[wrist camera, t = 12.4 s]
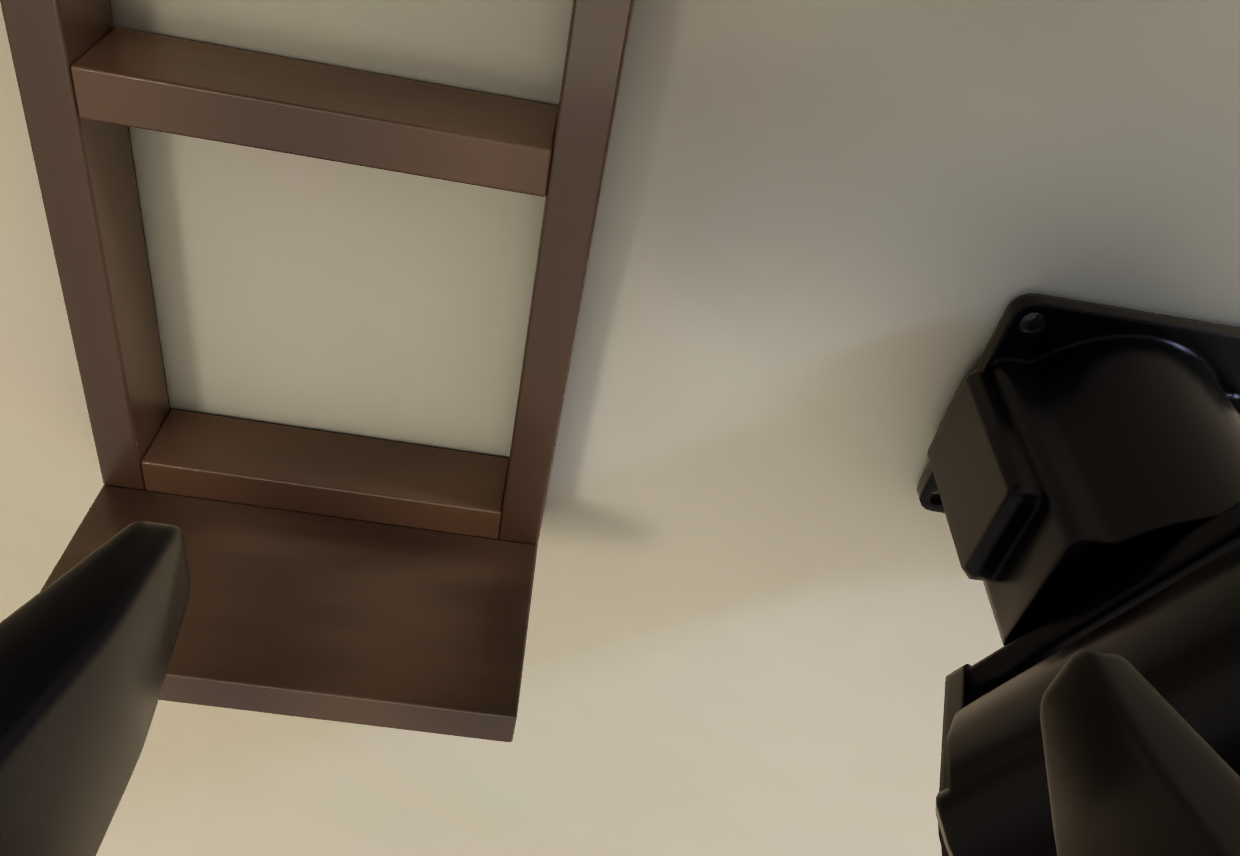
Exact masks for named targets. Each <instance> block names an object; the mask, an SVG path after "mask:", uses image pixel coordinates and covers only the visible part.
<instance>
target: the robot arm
mask: <svg viewBox="0 0 1240 856" xmlns="http://www.w3.org/2000/svg"><path fill="white" fill-rule="evenodd" d="M1030 313H1038V315H1037V316H1036V317H1035V318H1034V319H1032V320H1030V321H1023V322H1022V321H1021V320H1022V319H1023V318H1024V317H1025V316H1026V315H1028V314H1030ZM928 458H929V463H928V465H927V467H926V469H925V471H924V473H923V475H922V477H921V479H920V481H919V483H918V486H917V492H918V496H919V499H920V502H921V505H922V506H923V507H924V508H925V509H928V510H931V511H936V512H942V513H945V514H946V517H947V521H948V524H949V527H950V530H951V534H952V537H953V540H954V544H955V547H956V550H957V554H958V557H959V560H960V564H961V567H962V569H963V570H964V572H965V573H966V575H967V576H968V578H969V579H975V580H982V581H983V582H984V585H985V588H986V592H987V595H988V598H989V601H990V604H991V607H992V610H993V614H994V617H995V620H996V623H997V626H998V629H999V632H1000V635H1001V639H1002V642H1003V645H1004V647H1002V648H1000V649H999V650H997V651H995V652H994V653H992V654H990V655H989V656H987V657H986V658H984V659H982V660H981V661H979V662H977V663H976V664H974V665H973V666H971V665H969V664H966V665H964V666H962V667H961V668H959V669H957V670H956V671H954V672H952V673H951V674H949V675H948V676H946V682H945V700H944V717H943V735H942V753H941V770H940V788H939V793H938V795H937V797H936V816H937V819H938V826H939V838H940V842H941V847H942V856H1240V328H1238V327H1232V326H1226V325H1221V324H1215V323H1209V322H1203V321H1197V320H1191V319H1185V318H1179V317H1173V316H1167V315H1161V314H1155V313H1149V312H1144V311H1138V310H1132V309H1126V308H1120V307H1114V306H1108V305H1102V304H1096V303H1090V302H1084V301H1078V300H1073V299H1067V298H1061V297H1055V296H1049V295H1043V294H1025V295H1022V296H1019V297H1018V298H1016V299H1015V300H1013V301H1012V302H1011V303H1010V304H1009V305H1008V307H1007V308H1006V310H1005V312H1004V314H1003V316H1002V318H1001V320H1000V322H999V324H998V326H997V328H996V330H995V332H994V334H993V336H992V338H991V340H990V342H989V344H988V346H987V348H986V350H985V352H984V354H983V356H982V358H981V360H980V362H979V364H978V366H977V368H976V369H975V371H972V372H971V373H970V374H969V375H967V376H966V377H965V378H964V379H963V381H962V383H961V385H960V387H959V389H958V391H957V393H956V395H955V397H954V399H953V401H952V403H951V405H950V407H949V409H948V411H947V414H946V416H945V418H944V420H943V422H942V424H941V426H940V428H939V430H938V432H937V434H936V436H935V438H934V440H933V442H932V444H931V446H930V448H929V450H928ZM936 491H939V493H938V494H932V493H933V492H936ZM190 586H191V582H190V575H189V568H188V561H187V555H186V548H185V542H184V536H183V533H182V531H181V530H180V528H179V527H177V526H174V525H170V524H162V523H155V522H148V521H137V522H134V523H132V524H130V525H128V526H127V527H125V528H124V529H123V530H121V531H120V532H119V533H117V534H116V535H115V536H114V537H112V538H111V539H110V540H108V541H107V542H106V543H104V544H103V545H102V546H100V547H99V548H98V549H96V550H95V551H94V552H93V553H91V554H90V555H89V556H87V557H86V558H85V559H83V560H82V561H81V562H79V563H78V564H77V565H75V566H74V567H73V568H72V569H70V570H69V571H68V572H66V573H65V574H64V575H62V576H61V577H60V578H58V579H57V580H56V581H54V582H53V583H52V584H51V585H49V586H48V587H47V588H45V589H44V590H43V591H41V592H40V593H39V594H37V595H36V596H35V597H34V598H32V599H31V600H30V601H28V602H27V603H26V604H24V605H23V606H22V607H20V608H19V609H18V610H16V611H15V612H14V613H13V614H11V615H10V616H9V617H7V618H6V619H5V620H3V621H2V622H1V623H0V856H96V854H97V852H98V849H99V847H100V845H101V843H102V840H103V838H104V836H105V834H106V831H107V829H108V827H109V825H110V822H111V820H112V818H113V816H114V813H115V811H116V809H117V807H118V804H119V802H120V800H121V798H122V795H123V793H124V791H125V789H126V786H127V784H128V782H129V780H130V778H131V775H132V773H133V771H134V768H135V766H136V763H137V761H138V758H139V756H140V754H141V751H142V749H143V746H144V743H145V740H146V737H147V734H148V731H149V728H150V725H151V721H152V718H153V715H154V712H155V708H156V705H157V702H158V699H159V696H160V692H161V689H162V686H163V683H164V680H165V676H166V673H167V670H168V667H169V663H170V660H171V657H172V654H173V651H174V647H175V644H176V641H177V638H178V635H179V631H180V628H181V625H182V622H183V619H184V615H185V612H186V609H187V605H188V601H189V596H190Z"/></svg>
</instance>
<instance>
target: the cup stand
mask: <svg viewBox="0 0 1240 856" xmlns="http://www.w3.org/2000/svg"><path fill="white" fill-rule="evenodd" d="M0 2H1V7H2V11H3V16H4V21H5V25H6V30H7V35H8V39H9V44H10V49H11V53H12V58H13V63H14V67H15V72H16V77H17V81H18V86H19V91H20V95H21V100H22V105H23V109H24V114H25V119H26V123H27V128H28V133H29V137H30V142H31V147H32V151H33V156H34V161H35V165H36V170H37V175H38V179H39V184H40V189H41V193H42V198H43V203H44V207H45V212H46V217H47V221H48V226H49V231H50V235H51V240H52V245H53V249H54V254H55V259H56V263H57V268H58V273H59V277H60V282H61V287H62V291H63V296H64V301H65V305H66V310H67V315H68V319H69V324H70V329H71V333H72V338H73V343H74V347H75V352H76V357H77V361H78V366H79V371H80V375H81V380H82V385H83V389H84V394H85V399H86V403H87V408H88V413H89V417H90V422H91V427H92V431H93V436H94V441H95V445H96V450H97V455H98V459H99V464H100V469H101V473H102V478H103V483H104V486H103V488H102V489H101V491H100V493H99V494H98V496H97V498H96V499H95V501H94V503H93V504H92V506H91V508H90V509H89V511H88V513H87V514H86V516H85V518H84V519H83V521H82V523H81V524H80V526H79V528H78V529H77V531H76V533H75V534H74V536H73V538H72V539H71V541H70V543H69V544H68V546H67V548H66V550H65V551H64V553H63V555H62V556H61V558H60V560H59V561H58V563H57V565H56V566H55V568H54V570H53V571H52V573H51V575H50V576H49V578H48V580H47V581H46V583H45V585H44V586H43V588H42V590H41V591H43V590H44V589H45V588H47V587H48V586H49V585H51V584H52V583H53V582H54V581H56V580H57V579H58V578H60V577H61V576H62V575H64V574H65V573H66V572H68V571H69V570H70V569H72V568H73V567H74V566H75V565H77V564H78V563H79V562H81V561H82V560H83V559H85V558H86V557H87V556H89V555H90V554H91V553H93V552H94V551H95V550H96V549H98V548H99V547H100V546H102V545H103V544H104V543H106V542H107V541H108V540H110V539H111V538H112V537H114V536H115V535H116V534H117V533H119V532H120V531H121V530H123V529H124V528H125V527H127V526H128V525H130V524H132V523H134V522H137V521H148V522H155V523H162V524H170V525H174V526H177V527H179V528H180V530H181V531H182V533H183V536H184V542H185V548H186V555H187V561H188V568H189V575H190V582H191V586H190V596H189V601H188V605H187V609H186V612H185V615H184V619H183V622H182V625H181V628H180V631H179V635H178V638H177V641H176V644H175V647H174V651H173V654H172V657H171V660H170V663H169V667H168V670H167V673H166V676H165V680H164V683H163V686H162V689H161V692H160V696H159V699H158V700H166V701H174V702H182V703H191V704H199V705H207V706H215V707H224V708H232V709H240V710H248V711H257V712H265V713H273V714H281V715H289V716H298V717H306V718H314V719H322V720H331V721H339V722H347V723H355V724H364V725H372V726H380V727H388V728H397V729H405V730H413V731H421V732H430V733H438V734H446V735H454V736H463V737H471V738H479V739H487V740H496V741H504V742H511V741H512V740H513V734H514V729H515V724H516V718H517V711H518V703H519V694H520V686H521V678H522V670H523V661H524V653H525V645H526V637H527V629H528V620H529V612H530V604H531V596H532V587H533V579H534V571H535V563H536V554H537V546H538V540H539V535H540V529H541V523H542V518H543V512H544V507H545V501H546V495H547V490H548V484H549V478H550V473H551V467H552V461H553V456H554V450H555V444H556V439H557V433H558V428H559V422H560V416H561V411H562V405H563V399H564V394H565V388H566V382H567V377H568V371H569V366H570V360H571V354H572V349H573V343H574V337H575V332H576V326H577V320H578V315H579V309H580V304H581V298H582V292H583V287H584V281H585V275H586V270H587V264H588V258H589V253H590V247H591V241H592V236H593V230H594V225H595V219H596V213H597V208H598V202H599V196H600V191H601V185H602V179H603V174H604V168H605V163H606V157H607V151H608V146H609V140H610V134H611V129H612V123H613V117H614V112H615V106H616V101H617V95H618V89H619V84H620V78H621V72H622V67H623V61H624V55H625V50H626V44H627V38H628V33H629V27H630V22H631V16H632V10H633V5H634V0H574V1H573V8H572V15H571V22H570V29H569V36H568V43H567V51H566V58H565V65H564V72H563V79H562V86H561V94H560V101H559V107H558V106H555V105H549V104H543V103H538V102H532V101H527V100H521V99H515V98H510V97H504V96H499V95H493V94H487V93H482V92H476V91H471V90H465V89H459V88H454V87H448V86H442V85H437V84H431V83H426V82H420V81H414V80H409V79H403V78H398V77H392V76H386V75H381V74H375V73H370V72H364V71H358V70H353V69H347V68H342V67H336V66H330V65H325V64H319V63H314V62H308V61H302V60H297V59H291V58H286V57H280V56H274V55H269V54H263V53H258V52H252V51H246V50H241V49H235V48H229V47H224V46H218V45H213V44H207V43H201V42H196V41H190V40H185V39H179V38H173V37H168V36H162V35H157V34H151V33H145V32H140V31H134V30H129V29H123V28H117V27H116V28H114V29H113V23H112V16H111V9H110V2H109V0H0ZM128 126H131V127H137V128H143V129H149V130H155V131H161V132H166V133H172V134H178V135H184V136H190V137H196V138H202V139H208V140H213V141H219V142H225V143H231V144H237V145H243V146H249V147H255V148H261V149H266V150H272V151H278V152H284V153H290V154H296V155H302V156H308V157H313V158H319V159H325V160H331V161H337V162H343V163H349V164H355V165H360V166H366V167H372V168H378V169H384V170H390V171H396V172H402V173H407V174H413V175H419V176H425V177H431V178H437V179H443V180H449V181H454V182H460V183H466V184H472V185H478V186H484V187H490V188H496V189H501V190H507V191H513V192H519V193H525V194H531V195H537V196H543V197H544V196H546V201H545V208H544V215H543V222H542V229H541V237H540V244H539V251H538V258H537V265H536V272H535V279H534V287H533V294H532V301H531V308H530V315H529V322H528V330H527V337H526V344H525V351H524V358H523V365H522V372H521V380H520V387H519V394H518V401H517V408H516V415H515V423H514V430H513V437H512V444H511V451H510V458H509V459H508V458H502V457H495V456H488V455H481V454H474V453H468V452H461V451H454V450H447V449H440V448H433V447H427V446H420V445H413V444H406V443H399V442H392V441H386V440H379V439H372V438H365V437H358V436H351V435H345V434H338V433H331V432H324V431H317V430H310V429H304V428H297V427H290V426H283V425H276V424H269V423H263V422H256V421H249V420H242V419H235V418H229V417H222V416H215V415H208V414H201V413H194V412H188V411H181V410H174V409H172V410H170V411H169V404H168V397H167V390H166V383H165V377H164V370H163V363H162V356H161V349H160V342H159V336H158V329H157V322H156V315H155V308H154V302H153V295H152V288H151V281H150V274H149V268H148V261H147V254H146V247H145V240H144V234H143V227H142V220H141V213H140V206H139V200H138V193H137V186H136V179H135V172H134V166H133V159H132V152H131V145H130V138H129V132H128ZM41 591H40V592H41Z"/></svg>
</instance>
